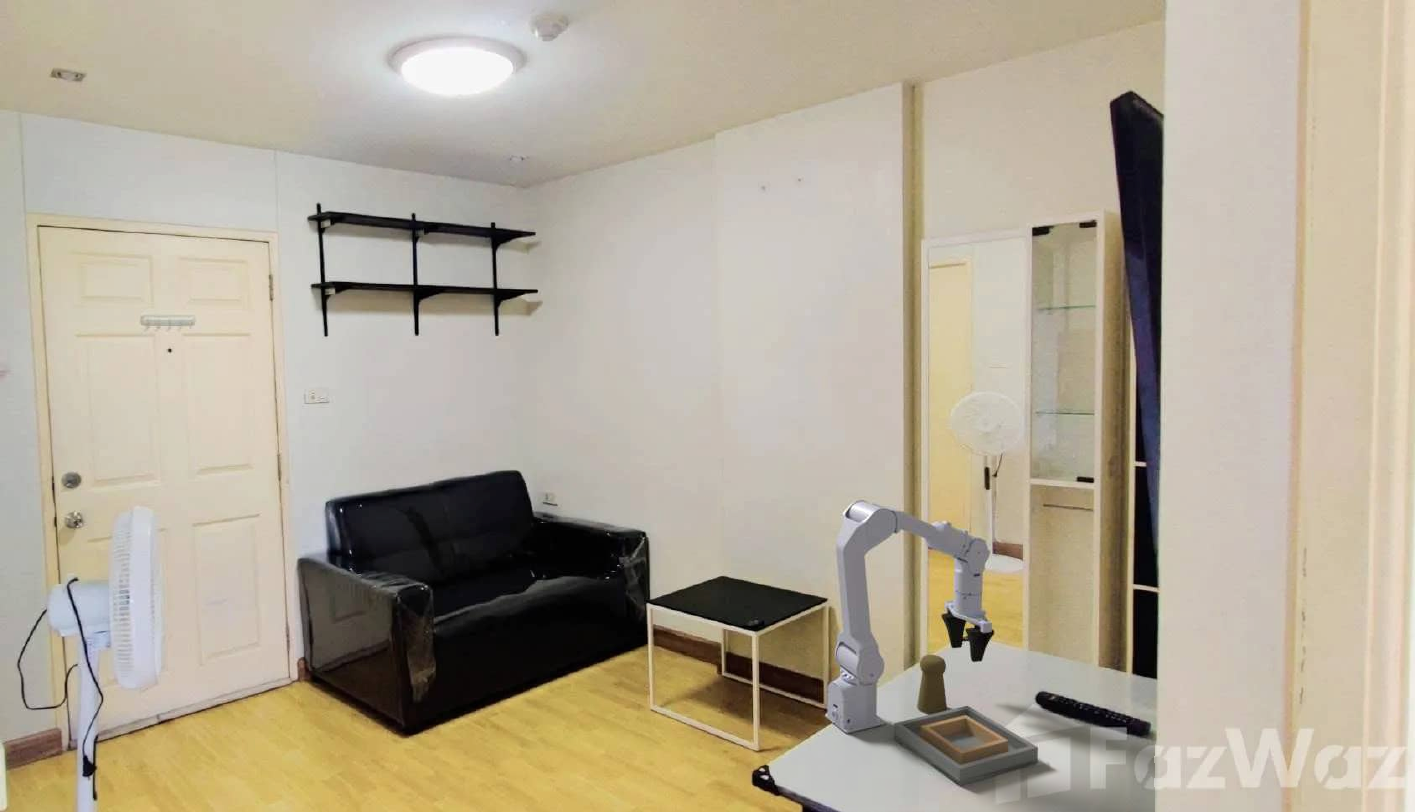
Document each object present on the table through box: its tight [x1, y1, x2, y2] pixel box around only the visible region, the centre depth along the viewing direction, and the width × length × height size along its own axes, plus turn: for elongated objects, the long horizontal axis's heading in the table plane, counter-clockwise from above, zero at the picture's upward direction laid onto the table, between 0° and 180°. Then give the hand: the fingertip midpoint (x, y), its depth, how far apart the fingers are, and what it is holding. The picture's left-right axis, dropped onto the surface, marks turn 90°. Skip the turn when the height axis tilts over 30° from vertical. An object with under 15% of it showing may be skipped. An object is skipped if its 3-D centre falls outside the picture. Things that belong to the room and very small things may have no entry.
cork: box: [916, 654, 948, 715], centre depth 162 cm, size 6×6×11 cm
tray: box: [893, 705, 1039, 787], centre depth 145 cm, size 18×18×3 cm
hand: (966, 654), depth 165 cm, fingers open, 7 cm apart
